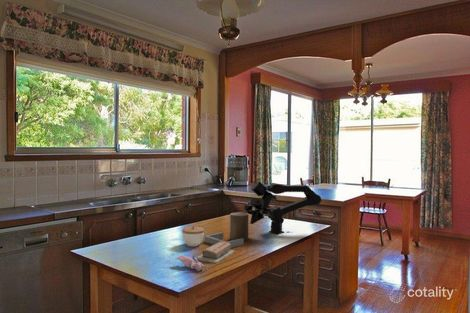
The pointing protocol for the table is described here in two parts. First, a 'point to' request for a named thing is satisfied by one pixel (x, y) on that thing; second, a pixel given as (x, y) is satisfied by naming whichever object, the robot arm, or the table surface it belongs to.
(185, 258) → the rabbit figure
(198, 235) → the lidded jar
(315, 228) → the table surface
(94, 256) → the table surface
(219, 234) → the bay
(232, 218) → the pillar candle
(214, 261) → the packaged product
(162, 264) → the table surface
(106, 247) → the table surface
